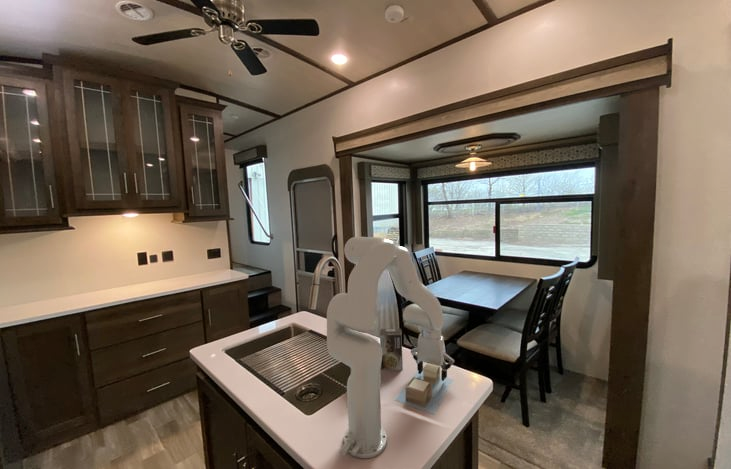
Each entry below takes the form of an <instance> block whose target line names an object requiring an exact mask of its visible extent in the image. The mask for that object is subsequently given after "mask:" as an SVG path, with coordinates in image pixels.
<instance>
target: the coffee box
mask: <svg viewBox="0 0 731 469" xmlns="http://www.w3.org/2000/svg"><path fill="white" fill-rule="evenodd" d="M402 337H403V336H402V328H380V331H379V342H380V343H379V344H380V345H381V347H382V352H383V354H382V362H381V368H380V372H381V371H403V370H404V367H403V366H404V364H403V363H404V362H403V344H402V342H403V340H402V339H403V338H402Z"/></svg>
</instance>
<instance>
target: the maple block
mask: <svg viewBox="0 0 731 469" xmlns="http://www.w3.org/2000/svg"><path fill="white" fill-rule="evenodd" d="M440 376H441V366H437V365H433V364H429V363H426V364H425V365H424V366H423V380H425V381H429V382H432V384H437V382H438V381H439V379H440Z"/></svg>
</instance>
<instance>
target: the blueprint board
mask: <svg viewBox="0 0 731 469" xmlns="http://www.w3.org/2000/svg"><path fill="white" fill-rule="evenodd" d="M452 382H453V378H450V377H447V378H445V379H444V381H442V380H441V375H440V379H439V381H438V382H437V384H432V382H429V381H425V380H423V371H422V372H421V374H418V370H417V371H416V372H415V373H414V374H413V376H412V377H411V378H410V380H409V381H408V383H407V384H405V386H404V387H403V389H402V390H401V391H400V392H399V394H398V395H397V396H396V397H395V399H394V401H396V402H398V403H401V404H404V405H407V406H410V407H413V408H414V409H417V410H420V411H423V412H426V413H428V414H430V415H434V414H435V413H436V411H437V410H438V407H439V406H440V404H441V402H442V400H443V399H444V397H445V394H446V393H447V392H448V389H449V387H450V386H451V384H452Z"/></svg>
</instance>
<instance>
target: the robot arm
mask: <svg viewBox="0 0 731 469" xmlns="http://www.w3.org/2000/svg"><path fill="white" fill-rule="evenodd" d="M343 251H344V256H345V258H346V259H347V260H348V262H350V263H351V264H354V265H355V266H354V267H353V268H352V270H351V272H350V274H349V276H348V280H347V292H340V293H337V294H336V295H334V296H333V297H331V300H330V302H329V303H328V306H327V309H326V347H327V351H328V353H329V356H331V357H332V358H333V359H335V360H336V361H338V362H340V363H343V364H344V365H346V366H347V367H349V368H350V370H351V369H352V373H351V372H350V375H349V377H348V378H347V382H346V394H347V396H346V397H347V398H346V399H347V415H348V416H347V419H348V428H347V429H346V431H345V432H344V436H343V445H342V446H341V448H340V449H339V454H340V455H341V456H342V457H346V455H347V454H350V455H351V456H352V457H355V458H357V459H358V458H359V459H370V458H374V457H376V456H378V455H380V454H381V453H382V452H383V451H384V450H385V449H386V447H387V444H388V443H387V442H388V435H387V432H386V431H385V429H384V428H383V426H382V412H381V411H382V410H381V409H382V408H381V407H382V406H381V386H380V374H381V362H382V354H383V352H382V347H381V345H380V343H379V342H380V341H378V340H377V339H375V338H374V337H372V336H370V335H368V334H367V333H371V332H373V331H374V329H375V328H376V326H377V322H378V292H379V291H378V289H379V287H378V286H379V281H380V278H381V276H382V274H383V273H384V271H387V272H388V273H389V275H390V277H391V280H392V282H393V285H394V288H395V290H396V292H397V293H398V294H399V295H400V296H402V297H403V298H404V299H407V300H408V301H410V302H412V303H411V304H409V305H407V306H406V307H405V308H404V310H403V314H402V317H403V320H404V322H406V323H407V324H409V325H411V326H414V327H417V331H419V332H420V334H418V339H417V347H415V348H412V349H411V350H410V353H411V355H412V358H413V360H415V363H416V364H417V371H418V374H421V372H422V371H423V368H424V363H426V364H427V363H429V364H433V365H437V366H440V369H441V370H440V376H441V380H442V381H444V379H445V378H448V370H449V369H450V368H451V367H452V366H453V364H454V363H455V359H454V358H452V357H451V356H450V355H449V354H447V352H446V346H445V340H444V336H443V335H442V327H443V325H444V313H443V309H442V306H441V302H440V301H439V299H438V298H437V296H435V294H434V293H433V292H432V290H430V289H429V288H428V287H427V286H425V284H423V283H422V282H421V280H420V278H419V275H418V272H417V270H416V267H415V264H414V262H413V259H412V256H411V253H410V251H409V250H408V249H407V248H406V247H404V246H400V245H396V244H395V242H394V241H393V240H390V239H388V238H385V237H378V236H377V237H376V236H372V237H371V236H368V237H367V236H354V237H351V238H349V239H348V240H347V242H346V243H345V244H344V250H343ZM446 361H448V363H447V362H446Z"/></svg>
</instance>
